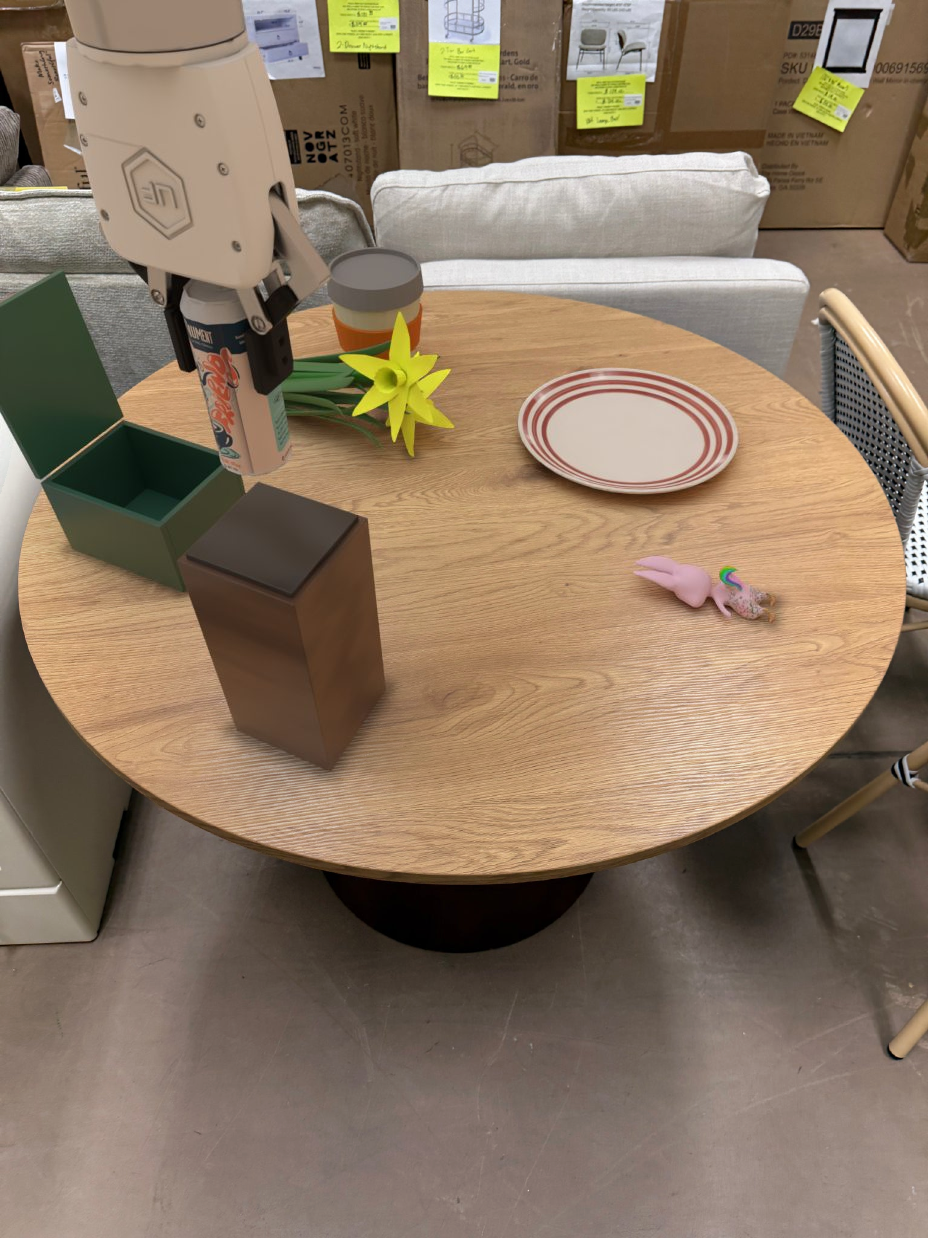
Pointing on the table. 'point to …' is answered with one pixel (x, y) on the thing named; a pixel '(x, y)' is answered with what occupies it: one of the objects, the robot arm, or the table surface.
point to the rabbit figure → (705, 586)
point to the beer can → (233, 382)
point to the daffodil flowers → (369, 386)
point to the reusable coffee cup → (375, 297)
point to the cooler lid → (51, 375)
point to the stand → (290, 620)
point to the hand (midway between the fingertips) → (237, 369)
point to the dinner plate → (628, 430)
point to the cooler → (141, 499)
